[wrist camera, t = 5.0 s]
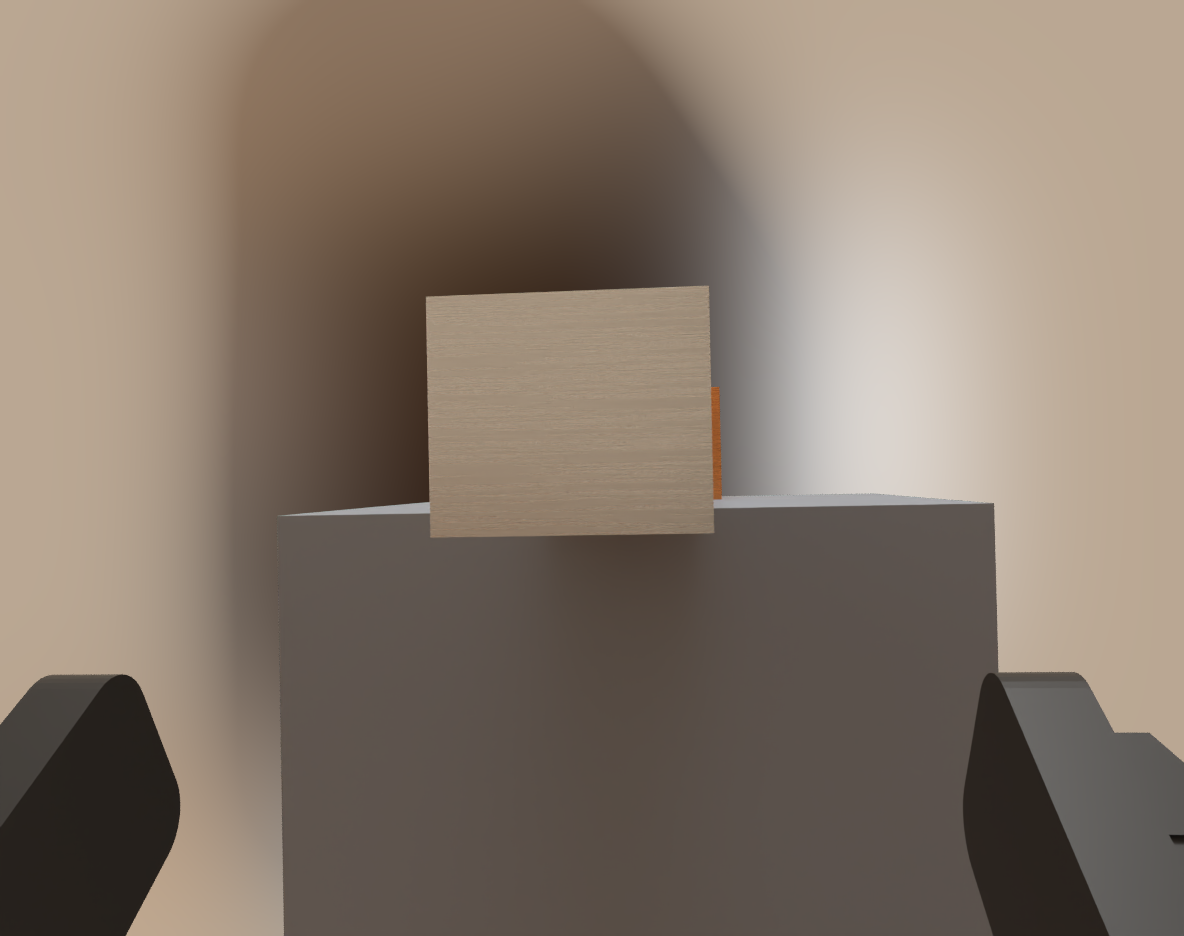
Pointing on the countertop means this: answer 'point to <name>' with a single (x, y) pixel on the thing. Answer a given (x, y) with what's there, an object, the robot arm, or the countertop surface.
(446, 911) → the breaker cabinet
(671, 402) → the bar
